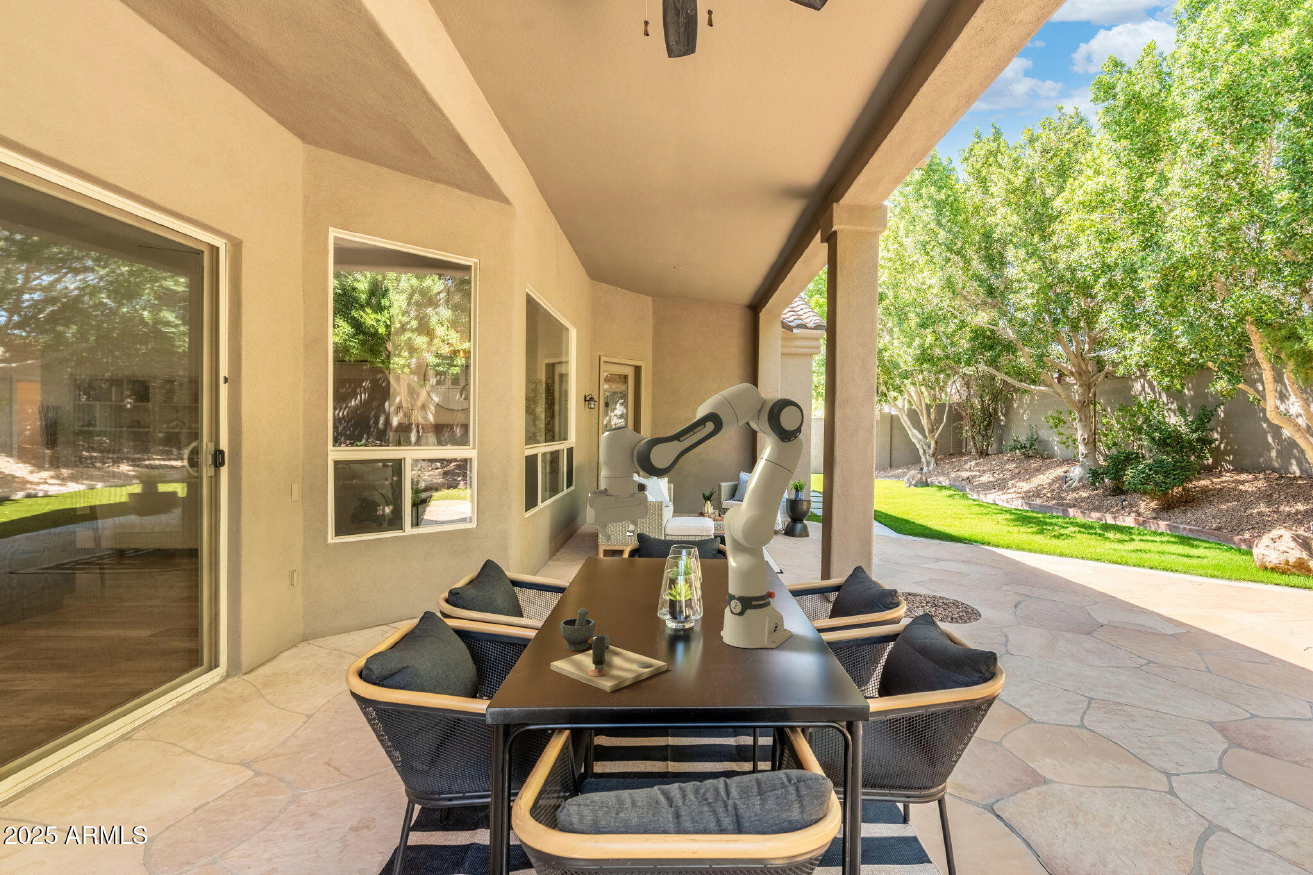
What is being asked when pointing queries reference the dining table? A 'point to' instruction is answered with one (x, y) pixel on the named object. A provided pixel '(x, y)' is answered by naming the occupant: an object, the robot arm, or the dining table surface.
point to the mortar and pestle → (578, 630)
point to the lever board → (609, 668)
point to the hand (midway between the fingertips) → (619, 538)
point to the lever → (599, 649)
